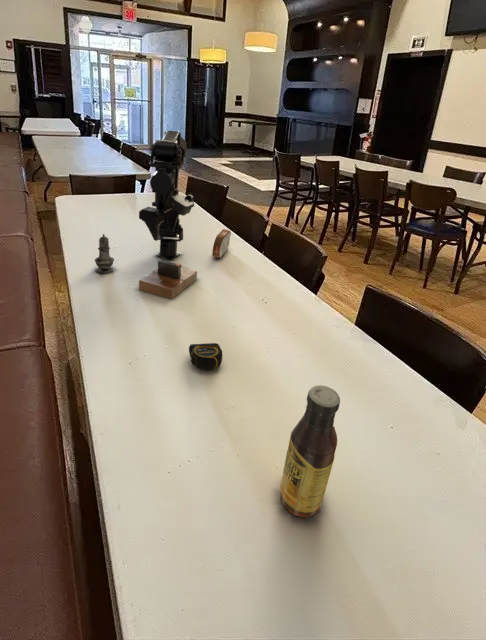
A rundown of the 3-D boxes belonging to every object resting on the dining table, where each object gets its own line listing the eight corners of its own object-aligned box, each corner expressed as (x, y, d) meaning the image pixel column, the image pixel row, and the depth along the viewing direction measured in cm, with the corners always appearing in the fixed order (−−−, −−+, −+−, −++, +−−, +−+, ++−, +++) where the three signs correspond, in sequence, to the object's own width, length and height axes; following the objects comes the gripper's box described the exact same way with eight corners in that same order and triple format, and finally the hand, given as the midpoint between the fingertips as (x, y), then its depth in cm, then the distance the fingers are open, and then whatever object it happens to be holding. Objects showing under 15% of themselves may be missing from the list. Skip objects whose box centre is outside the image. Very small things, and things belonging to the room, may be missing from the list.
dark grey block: (157, 273, 123) (157, 260, 121) (160, 271, 124) (160, 258, 123) (178, 279, 121) (178, 265, 119) (180, 277, 122) (181, 263, 120)
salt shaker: (117, 267, 132) (116, 232, 128) (110, 275, 127) (109, 238, 122) (99, 265, 132) (97, 230, 128) (91, 272, 127) (90, 236, 123)
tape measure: (218, 354, 93) (219, 339, 91) (224, 373, 87) (225, 358, 85) (188, 355, 91) (189, 340, 90) (191, 374, 85) (192, 359, 84)
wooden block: (165, 271, 132) (165, 262, 131) (196, 279, 128) (197, 270, 127) (138, 289, 119) (138, 279, 118) (172, 299, 115) (172, 289, 114)
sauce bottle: (274, 482, 63) (292, 375, 56) (314, 481, 64) (337, 376, 56) (284, 523, 57) (305, 410, 50) (327, 522, 58) (355, 410, 50)
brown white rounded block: (222, 246, 157) (224, 225, 154) (230, 248, 157) (232, 227, 154) (210, 260, 144) (212, 237, 141) (219, 262, 143) (221, 239, 140)
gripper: (173, 196, 109) (171, 251, 115) (204, 184, 125) (201, 232, 131) (137, 189, 113) (137, 243, 119) (171, 178, 129) (170, 225, 135)
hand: (163, 235), depth 126 cm, fingers open, 9 cm apart
